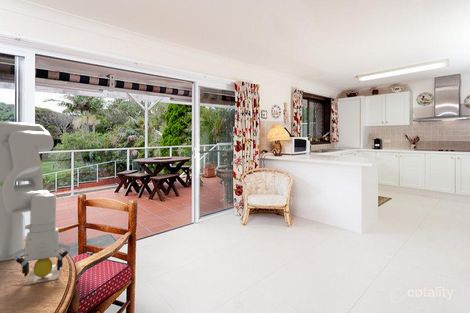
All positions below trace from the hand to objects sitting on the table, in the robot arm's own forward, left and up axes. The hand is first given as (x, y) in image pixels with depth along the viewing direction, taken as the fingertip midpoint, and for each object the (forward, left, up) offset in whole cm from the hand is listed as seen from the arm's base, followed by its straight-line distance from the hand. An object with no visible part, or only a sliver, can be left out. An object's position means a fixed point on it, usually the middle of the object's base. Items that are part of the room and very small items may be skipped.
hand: (43, 271), depth 92 cm
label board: (-4, 0, -3) cm, 5 cm away
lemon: (0, 0, -2) cm, 2 cm away
